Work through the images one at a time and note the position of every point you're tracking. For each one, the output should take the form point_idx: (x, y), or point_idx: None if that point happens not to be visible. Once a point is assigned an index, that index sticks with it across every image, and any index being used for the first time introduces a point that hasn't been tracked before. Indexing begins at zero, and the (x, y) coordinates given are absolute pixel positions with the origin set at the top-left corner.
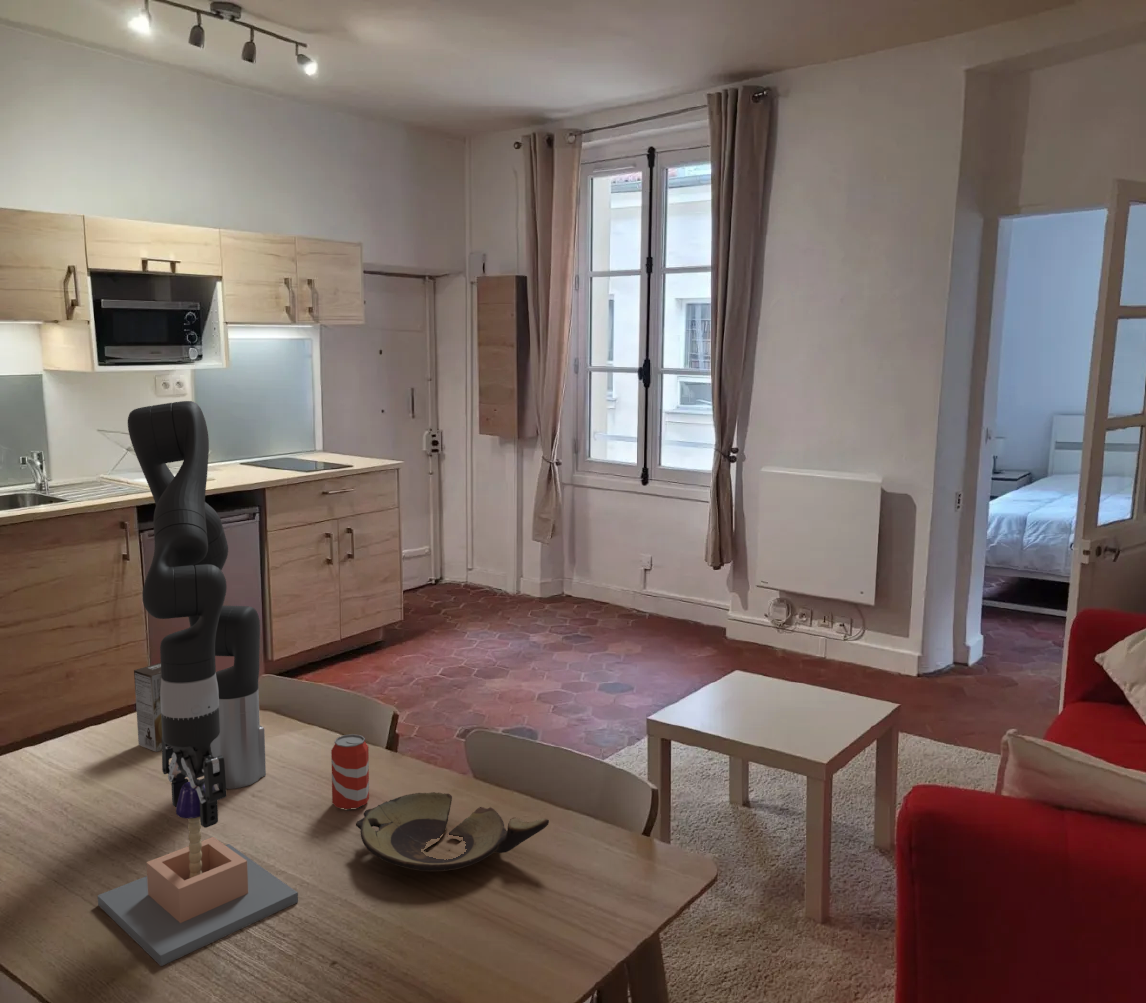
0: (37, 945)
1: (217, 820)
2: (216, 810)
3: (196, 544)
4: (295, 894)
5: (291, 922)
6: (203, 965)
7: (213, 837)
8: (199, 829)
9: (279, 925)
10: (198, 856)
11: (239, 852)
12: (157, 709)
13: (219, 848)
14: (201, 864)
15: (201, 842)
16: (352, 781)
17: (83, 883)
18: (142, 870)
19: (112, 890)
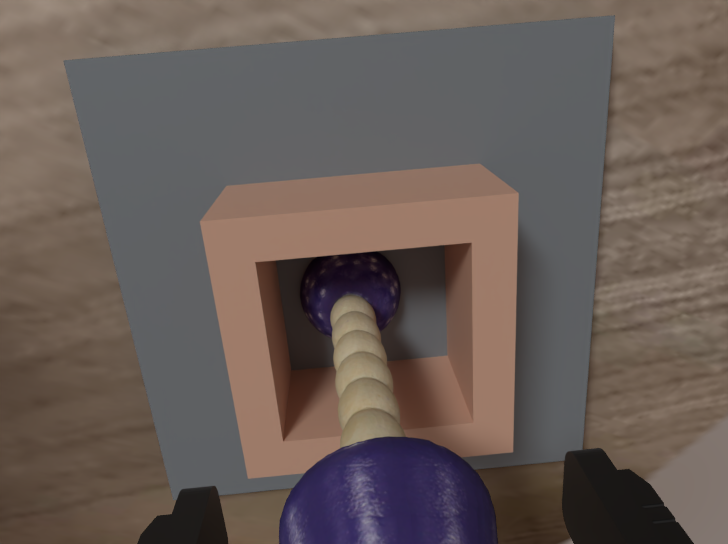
0: None
1: (603, 454)
2: (684, 536)
3: None
4: (613, 27)
5: (677, 97)
6: (647, 367)
7: (209, 223)
8: (398, 423)
9: (659, 135)
10: (386, 358)
11: (167, 57)
12: None
13: (329, 241)
14: (373, 324)
15: (375, 366)
16: None
17: (28, 479)
18: (40, 341)
19: (171, 467)
